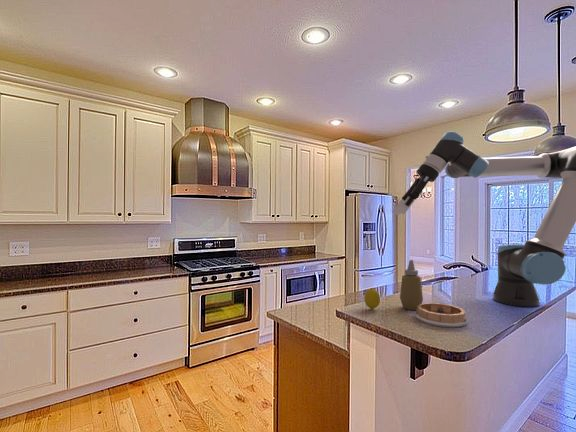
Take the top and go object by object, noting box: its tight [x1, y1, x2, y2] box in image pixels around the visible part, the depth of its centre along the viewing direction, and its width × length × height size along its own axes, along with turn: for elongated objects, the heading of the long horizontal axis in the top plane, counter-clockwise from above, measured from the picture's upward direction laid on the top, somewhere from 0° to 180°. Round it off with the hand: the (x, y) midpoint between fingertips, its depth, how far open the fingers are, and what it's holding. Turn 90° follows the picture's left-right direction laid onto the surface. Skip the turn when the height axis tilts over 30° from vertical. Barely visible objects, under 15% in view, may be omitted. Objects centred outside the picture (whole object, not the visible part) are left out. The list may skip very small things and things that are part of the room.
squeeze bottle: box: [399, 259, 424, 311], centre depth 116 cm, size 8×8×18 cm
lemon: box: [364, 287, 381, 310], centre depth 114 cm, size 6×6×8 cm
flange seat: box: [415, 302, 467, 329], centre depth 102 cm, size 15×15×4 cm
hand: (397, 213), depth 121 cm, fingers open, 13 cm apart
